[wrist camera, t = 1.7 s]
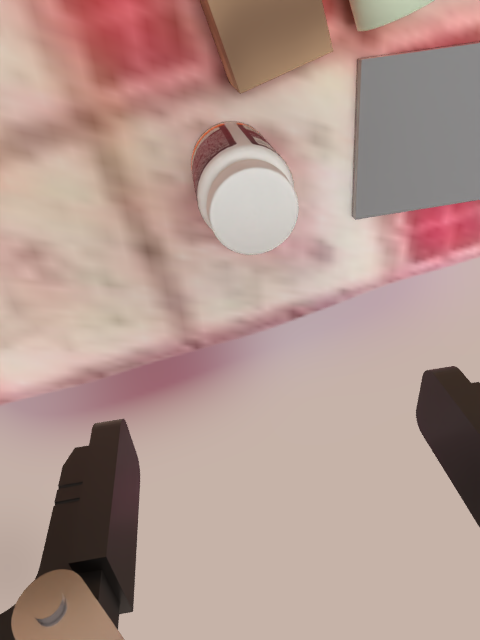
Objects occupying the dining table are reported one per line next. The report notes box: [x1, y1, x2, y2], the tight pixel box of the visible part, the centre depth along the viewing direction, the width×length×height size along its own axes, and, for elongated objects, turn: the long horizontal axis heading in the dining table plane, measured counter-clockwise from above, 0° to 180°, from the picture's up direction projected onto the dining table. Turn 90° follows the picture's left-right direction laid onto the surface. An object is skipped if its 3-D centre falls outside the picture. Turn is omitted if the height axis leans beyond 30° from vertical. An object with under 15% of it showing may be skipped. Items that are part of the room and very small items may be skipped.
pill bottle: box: [191, 122, 299, 255], centre depth 23 cm, size 5×5×8 cm
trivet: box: [352, 42, 480, 220], centre depth 27 cm, size 9×9×1 cm
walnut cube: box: [200, 0, 333, 94], centre depth 21 cm, size 4×4×4 cm
